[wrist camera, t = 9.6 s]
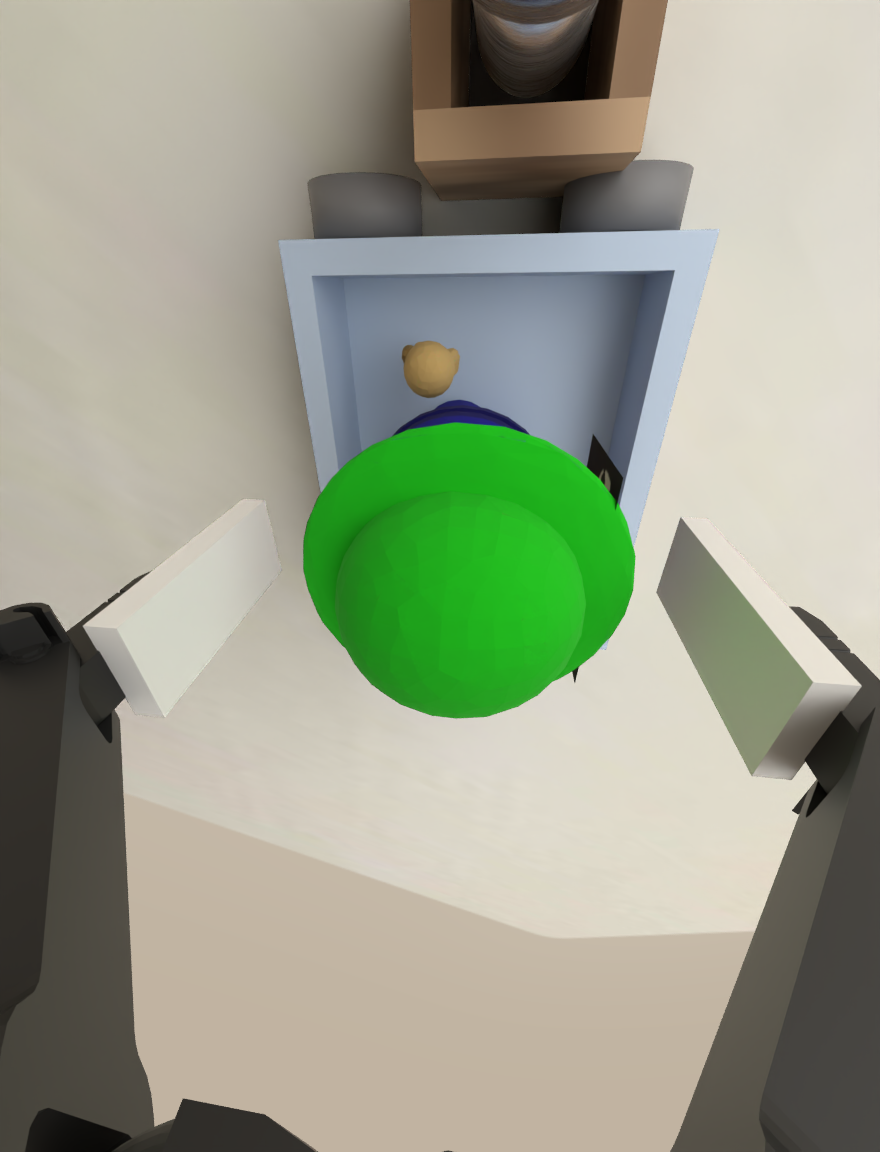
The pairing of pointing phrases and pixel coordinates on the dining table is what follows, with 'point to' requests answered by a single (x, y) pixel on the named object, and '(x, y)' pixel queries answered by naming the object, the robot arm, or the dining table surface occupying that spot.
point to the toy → (468, 555)
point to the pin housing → (529, 107)
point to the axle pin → (531, 41)
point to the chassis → (501, 315)
